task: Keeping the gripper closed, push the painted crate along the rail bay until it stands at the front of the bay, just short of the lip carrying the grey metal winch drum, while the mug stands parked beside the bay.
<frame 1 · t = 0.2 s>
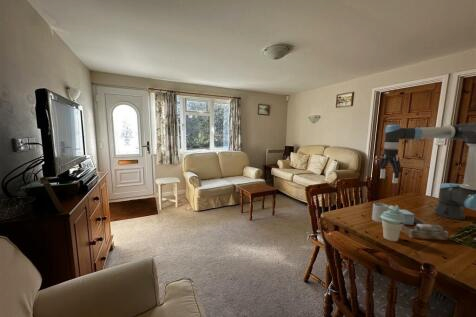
hand: (388, 180, 133), 27 cm above the table, fingers open, 13 cm apart
bay: (413, 228, 123), on the table
crate: (402, 221, 132), on the table
frozen yogurt cup: (390, 238, 111), on the table
mug: (380, 219, 136), on the table
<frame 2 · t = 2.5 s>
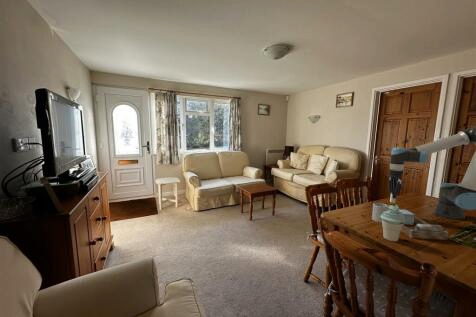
hand: (392, 202, 142), 9 cm above the table, fingers closed
nothing on the table moved.
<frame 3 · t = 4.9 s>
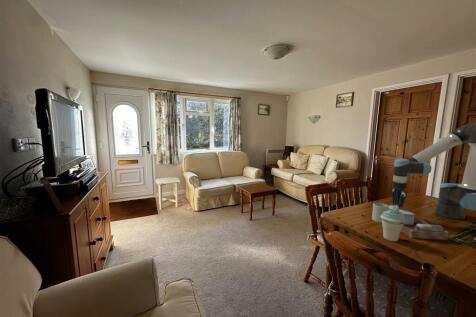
hand: (396, 214, 139), 2 cm above the table, fingers closed
crate: (402, 221, 132), on the table, touching gripper
everything else where it was.
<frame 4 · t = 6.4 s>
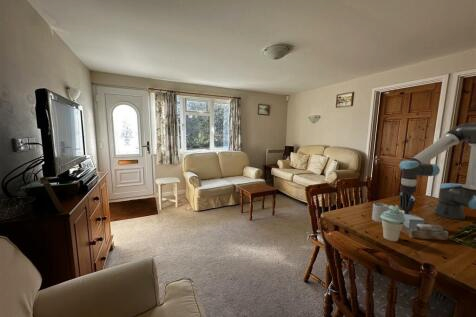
hand: (404, 220, 130), 2 cm above the table, fingers closed
crate: (411, 227, 124), on the table, touching gripper
everything else where it was.
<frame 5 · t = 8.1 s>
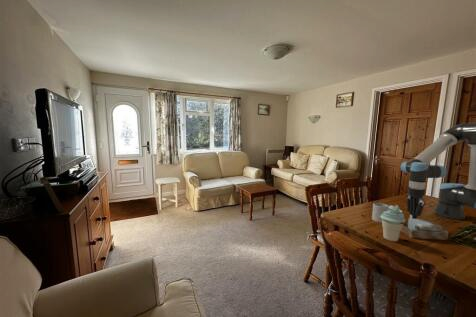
hand: (412, 224, 123), 2 cm above the table, fingers closed
crate: (419, 232, 117), on the table, touching bay, gripper
everything else where it was.
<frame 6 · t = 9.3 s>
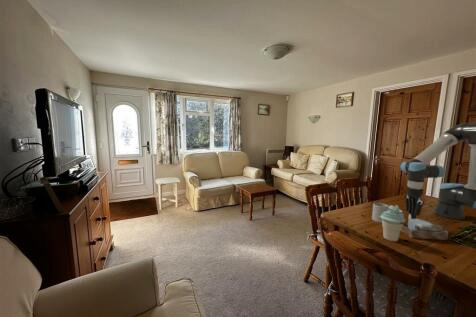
hand: (411, 224, 125), 2 cm above the table, fingers closed
crate: (419, 233, 117), on the table
everything else where it was.
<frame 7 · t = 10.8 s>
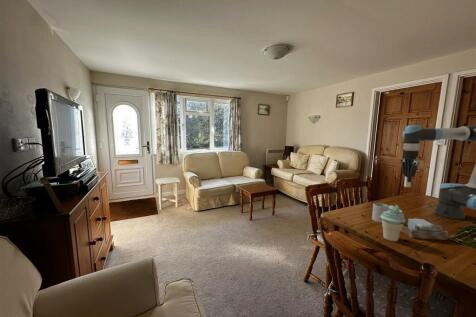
hand: (407, 186, 128), 24 cm above the table, fingers closed
nothing on the table moved.
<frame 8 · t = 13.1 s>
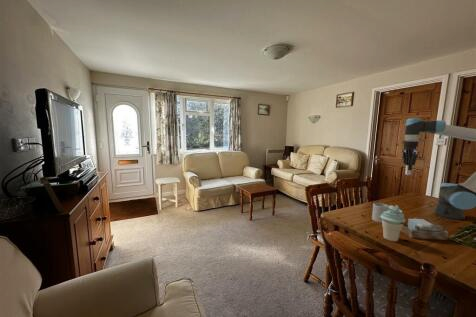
hand: (408, 174, 140), 29 cm above the table, fingers closed
nothing on the table moved.
at the end: crate inside the target area (0.9 cm from its centre), on the table; crate tilted 0°; crate moved 15.4 cm from its start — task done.
